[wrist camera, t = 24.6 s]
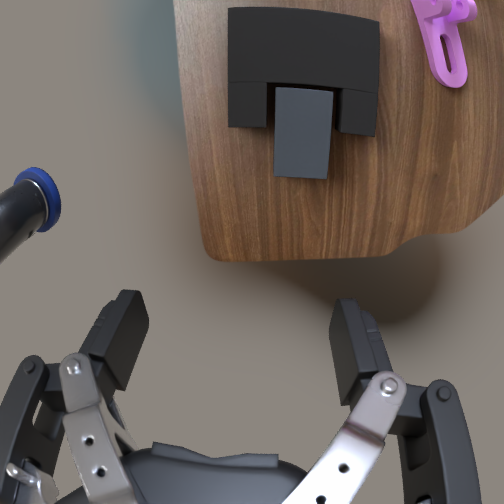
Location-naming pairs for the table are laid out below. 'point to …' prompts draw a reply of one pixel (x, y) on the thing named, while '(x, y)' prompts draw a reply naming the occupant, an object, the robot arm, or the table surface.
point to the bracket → (444, 36)
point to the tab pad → (302, 132)
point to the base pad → (303, 62)
